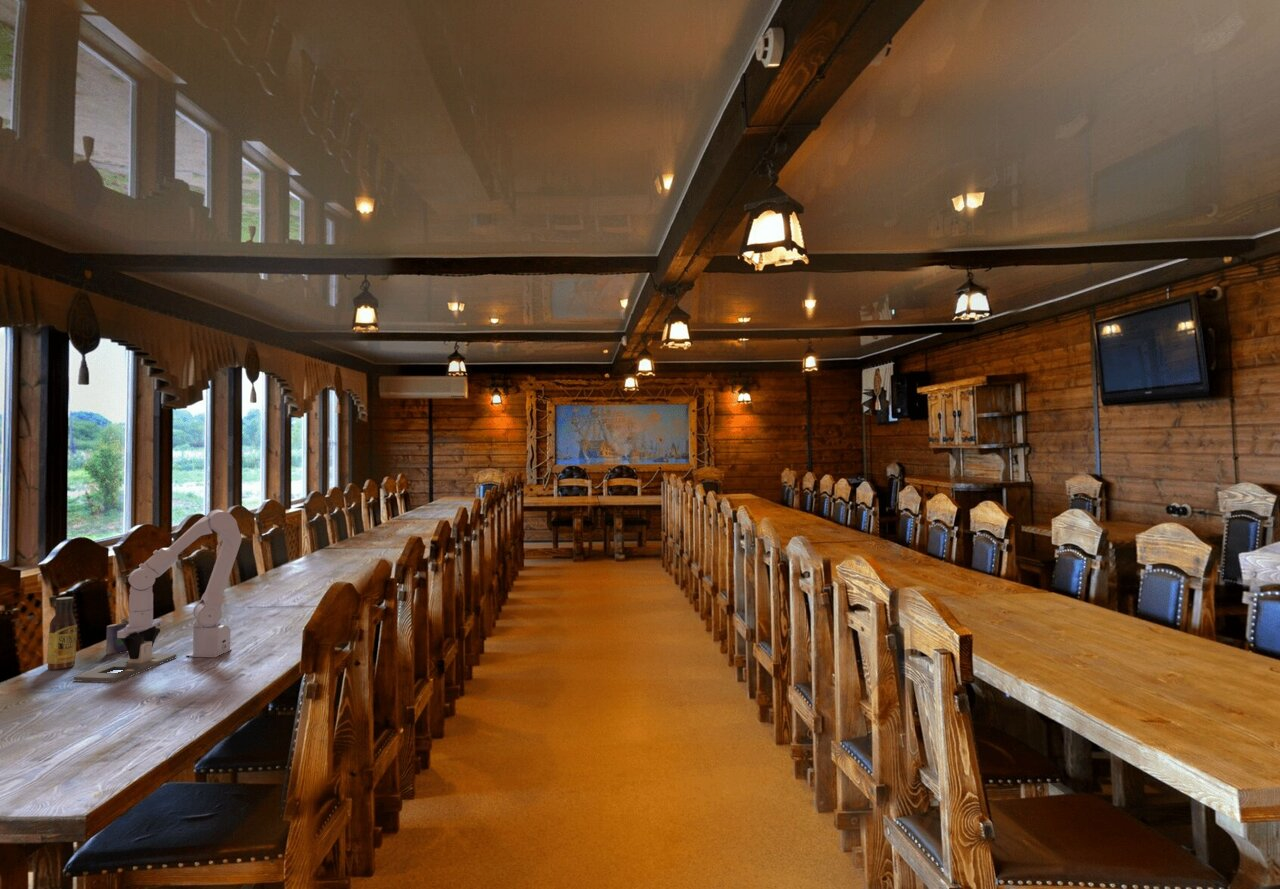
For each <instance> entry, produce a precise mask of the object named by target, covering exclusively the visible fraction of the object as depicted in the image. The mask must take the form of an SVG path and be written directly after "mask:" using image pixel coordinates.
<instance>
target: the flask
mask: <svg viewBox="0 0 1280 889" xmlns="http://www.w3.org/2000/svg"><path fill="white" fill-rule="evenodd" d="M120 619H121V620H120V622H118V623H114V624H109V625H107V626H106V643H105V645H106V647H105V651H106V652H105V655H106V654H107V655H106V656H110V655H111V654H114V655H116V654H115V653H118V654H121V653H120V652H123V653H125V652H124V651H127V648H126V646H125V644H124V643H123V641H122V640H121V639H120V638H117V631H120V630H122V629H124V628H125V627H126V625H128V624H129V619H127V617H126V616H122V617H120ZM137 634H138V635H139V633H137Z"/></svg>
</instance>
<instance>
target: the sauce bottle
mask: <svg viewBox="0 0 1280 889" xmlns="http://www.w3.org/2000/svg"><path fill="white" fill-rule="evenodd" d="M74 601H75V600H74V597H73V596H63V597H58V598H55V601H54V603H55V614H54V616H53V618H52V619H51V621H50V623H49V631H48V644H47V645H48V646H47V669H48V670H50V671H55V670H65V669H69V668H72V667H74V666H75V664H76V663H75V662H76V656H77V638H78V637H77V634H78V624H77V622H76V619H75V616H74V612H73V611H74V610H73V605H74ZM73 665H74V666H73Z"/></svg>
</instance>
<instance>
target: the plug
mask: <svg viewBox="0 0 1280 889" xmlns="http://www.w3.org/2000/svg"><path fill="white" fill-rule="evenodd" d="M127 654H128V653H127ZM152 654H153V647H152V641H144V637H143V639H142V641H141V645H140V652H139V657H138V659H130V657H129V654H128V655H127V657H128V663H144V662H147V661H149V660H152Z"/></svg>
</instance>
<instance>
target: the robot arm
mask: <svg viewBox="0 0 1280 889" xmlns="http://www.w3.org/2000/svg"><path fill="white" fill-rule="evenodd" d="M213 531H214V532H215V533H216V534H217V536H218V537H219V538H220V540H221V542H222V543H221V546H220V549H219V551H218V555H217V558H216V560H215V563H214V565H213V569H212V571H211V574H210V577H209V580H208V583H207V586H206V589H205V591H204V593H203V594H202V595H201V598H200V601H199V602H198V603H197V604H196V605H195V606H194V608H193V612H192V613H193V616H194V618H195V619H196V620H195V622H194V623H193V626H192V628H193V630H192V632H193V633H192V638H193V639H192V652H190V653H188V654H186V655H185V657H186V656H189V657H188V658H217V657H220V656H222V655H224V654H226V653H228V651H229V652H230V650H231V651H232V650H233V649H232V648H231V628H230V627H229V626H228V625H224V624H222V621H221V618H222V605H223V596H224V593H225V591H226V588H227V584H228V582H229V578H230V576H231V572H232V570H233V566H234V563H235V561H236V558H237V555H238V552H239V549H240V546H241V543H242V541H243V540H242V536H241V532H240V530H239V526H238V521H237V519H236V518H235V517H234V516H233V515H232V514H231V513H229V512H227V511H226V510H223V509H218V508H217V509H212V510H211V511H209V512H208V513H207V515H204V516H203V517H202V518H200V519H198V521H196V522H195V523H194V524H193V525H192V526H191V527H189V528H188V529H187V530H186V531H185V532H184V533H183V534H182V535H181V536H180V537H178V538H177V540H175V542H173V543H172V544H171V545H170V546H169V547H161V548H160V549H159V550H158V549H155V550H154V551H153V552H152V556H150V557H149V558H148V559H147V560H146V561H144V563H142V562H141V563H140V564H139V565H138V567H139V568H135V569H133V571H132V572H130V574H129V576H128V577H127V580H128V583H129V584H130V588H129V595H128V620H129V624H128V625H126V627H125V628H124V629H122V630H120V631H117V638H120V639H121V640H122V641H123V643H124V644H125V646H126V648H127V651H128V652H127V654H129V657H130V659H138V657H139V652H140V645H141V641H142V639H143V637H144V641H152V648H153V646H154V643H155V641H156V639H157V637H158V636H159V634H160V632H161V628H160V627H162V626H164V622H163V621H164V620H163V618H155V619H154V592H153V585H154V584H155V583H156V579H157V578H159V577H161V576H162V575H163V574H164V573H165V572H167V571H168V569H170V568H171V567H172V566H173V565H174V564H176V563H177V562H178V555H180V553H181V552H183V551H184V550H185V549H186V548H188V547H189V546H190V545H191V544H192V543H194V542H195V541H196V540H197V539H199V538H200V537H201V536H205V535H206V536H207V535H210V534H213ZM137 633H139V635H138V634H137ZM223 653H224V654H223ZM221 654H222V655H221ZM219 655H220V656H219Z"/></svg>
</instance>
